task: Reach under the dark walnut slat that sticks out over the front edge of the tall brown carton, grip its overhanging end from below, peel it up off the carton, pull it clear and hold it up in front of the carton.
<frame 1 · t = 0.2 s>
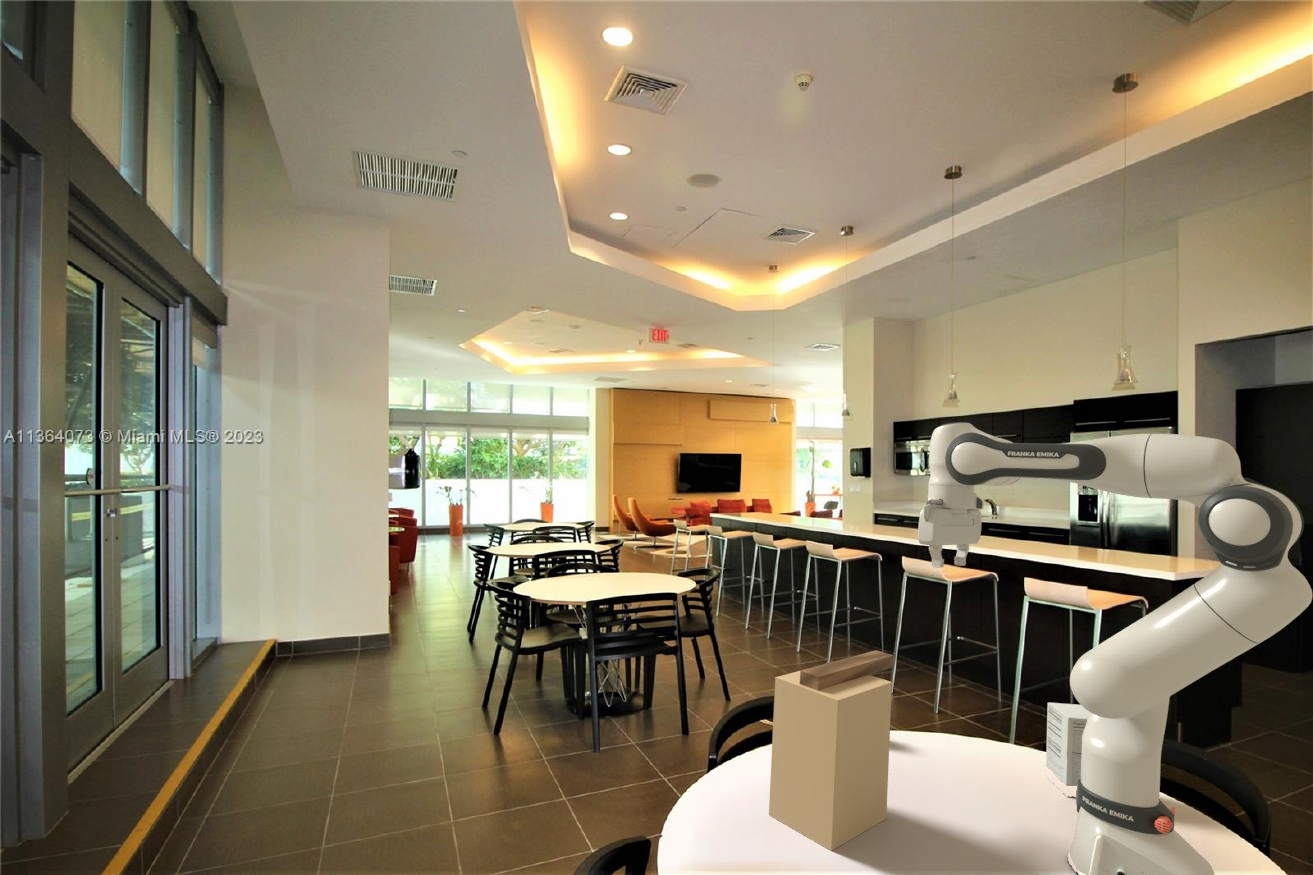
hand: (949, 566, 137), 48 cm above the table, tool pointing down, fingers open, 8 cm apart
slat: (848, 675, 130), point 26 cm above the table, touching carton
supplement box: (1077, 789, 143), on the table
carton: (827, 816, 126), on the table
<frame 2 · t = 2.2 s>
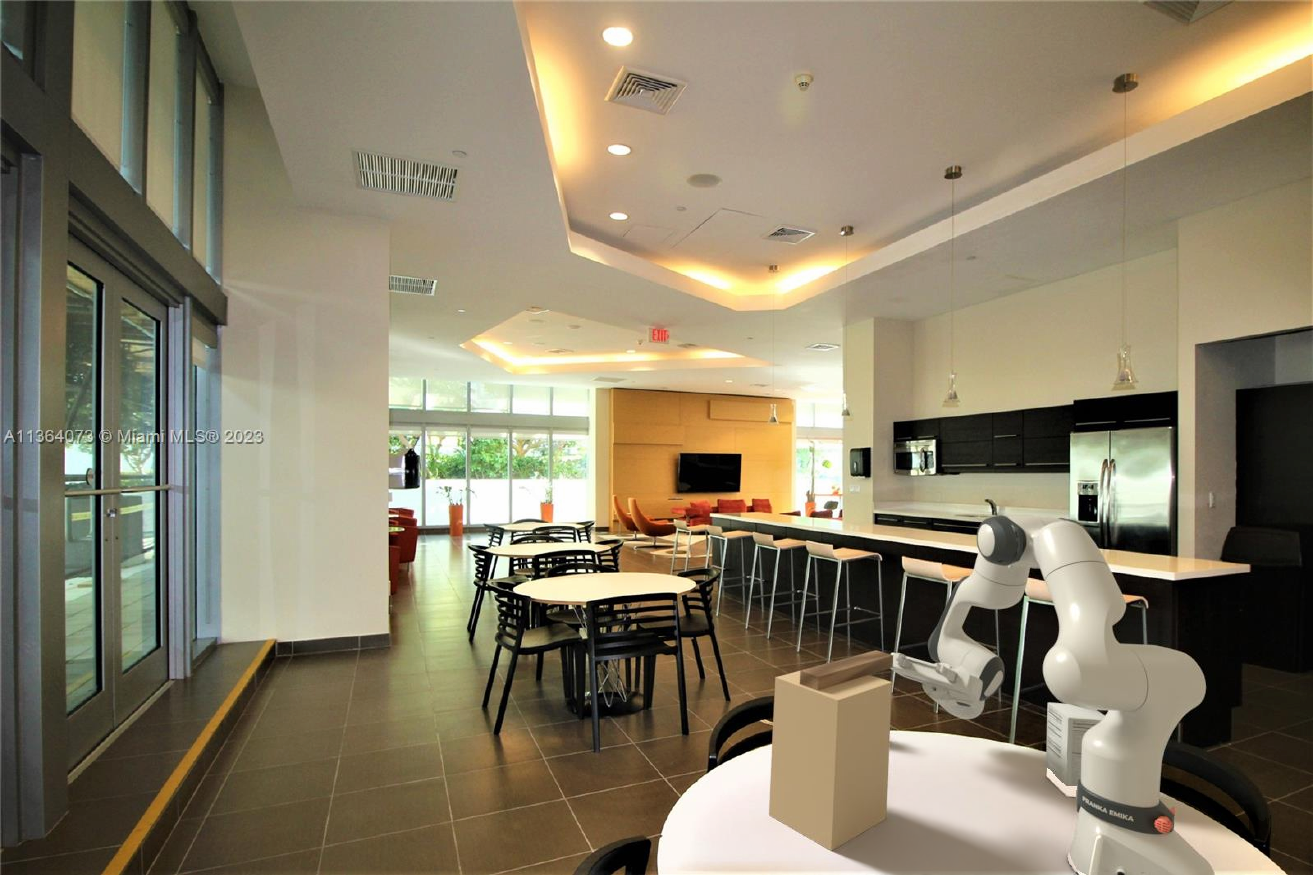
hand: (918, 662, 147), 24 cm above the table, tool pointing upward, fingers open, 8 cm apart
nothing on the table moved.
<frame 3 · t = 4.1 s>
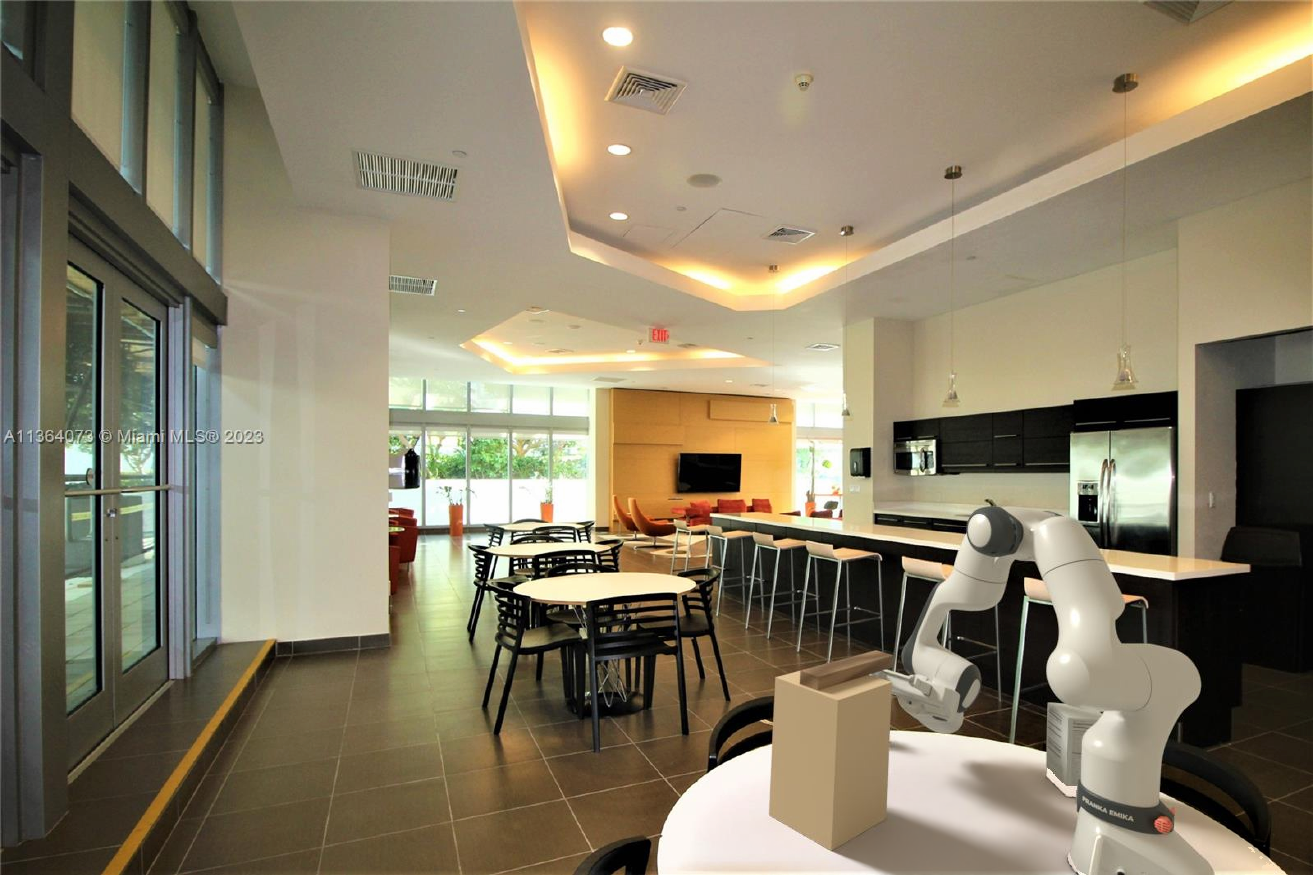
hand: (892, 674, 140), 23 cm above the table, tool pointing upward, fingers open, 8 cm apart
nothing on the table moved.
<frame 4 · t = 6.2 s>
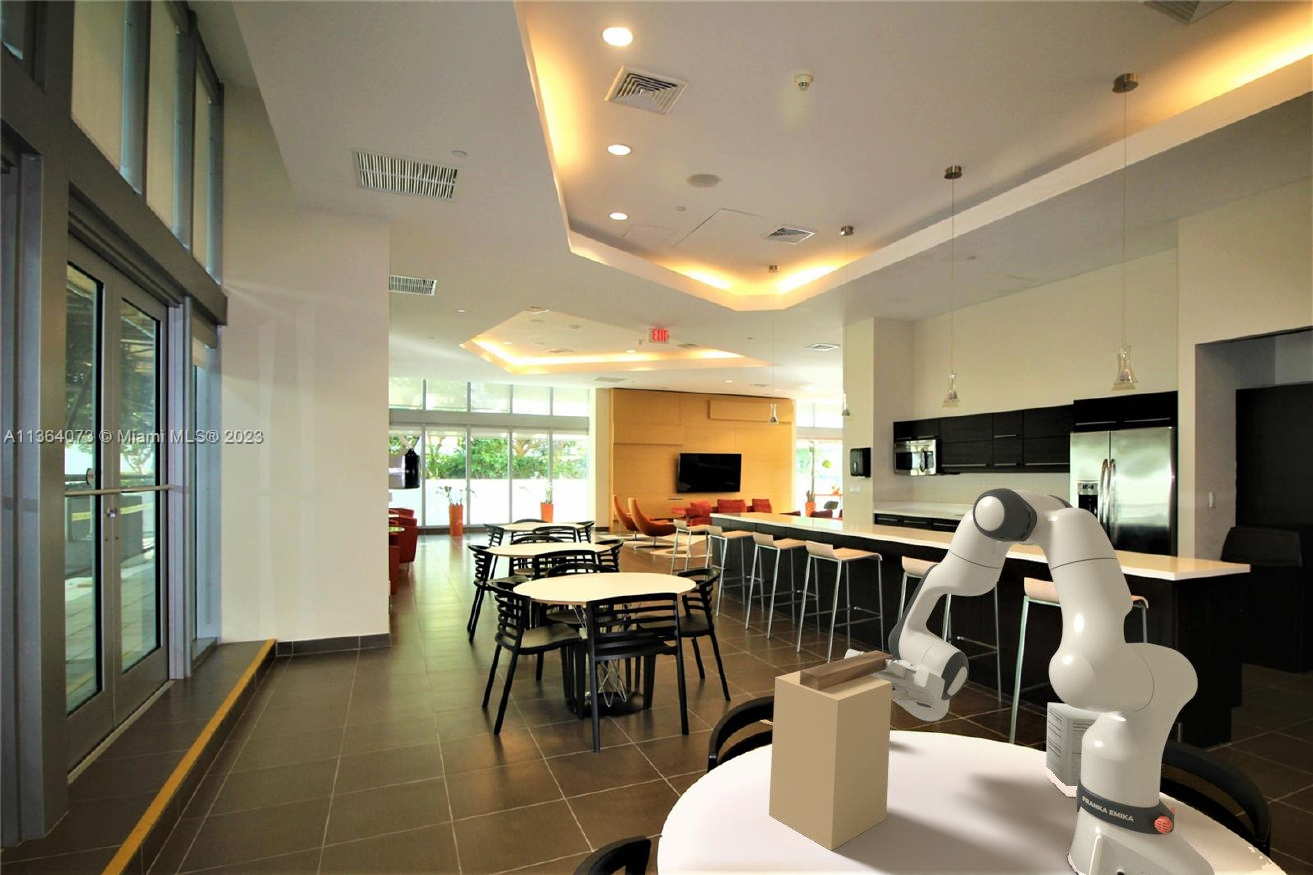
hand: (874, 659, 136), 28 cm above the table, tool pointing upward, fingers closed on slat, 4 cm apart
slat: (848, 675, 130), point 26 cm above the table, touching carton, gripper
everything else where it was.
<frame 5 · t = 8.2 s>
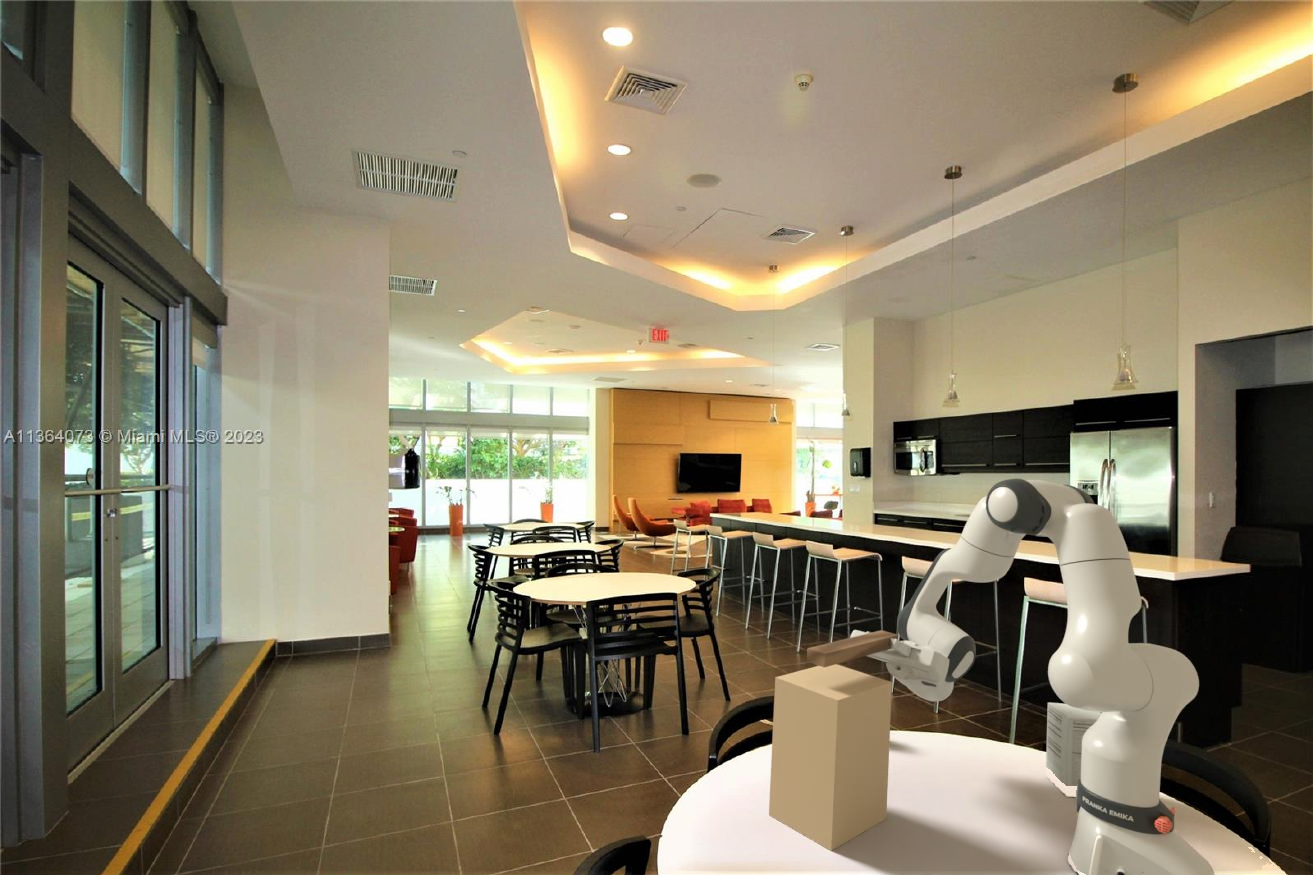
hand: (880, 638, 137), 32 cm above the table, tool pointing upward, fingers closed on slat, 4 cm apart
slat: (854, 653, 131), point 30 cm above the table, touching gripper
everything else where it was.
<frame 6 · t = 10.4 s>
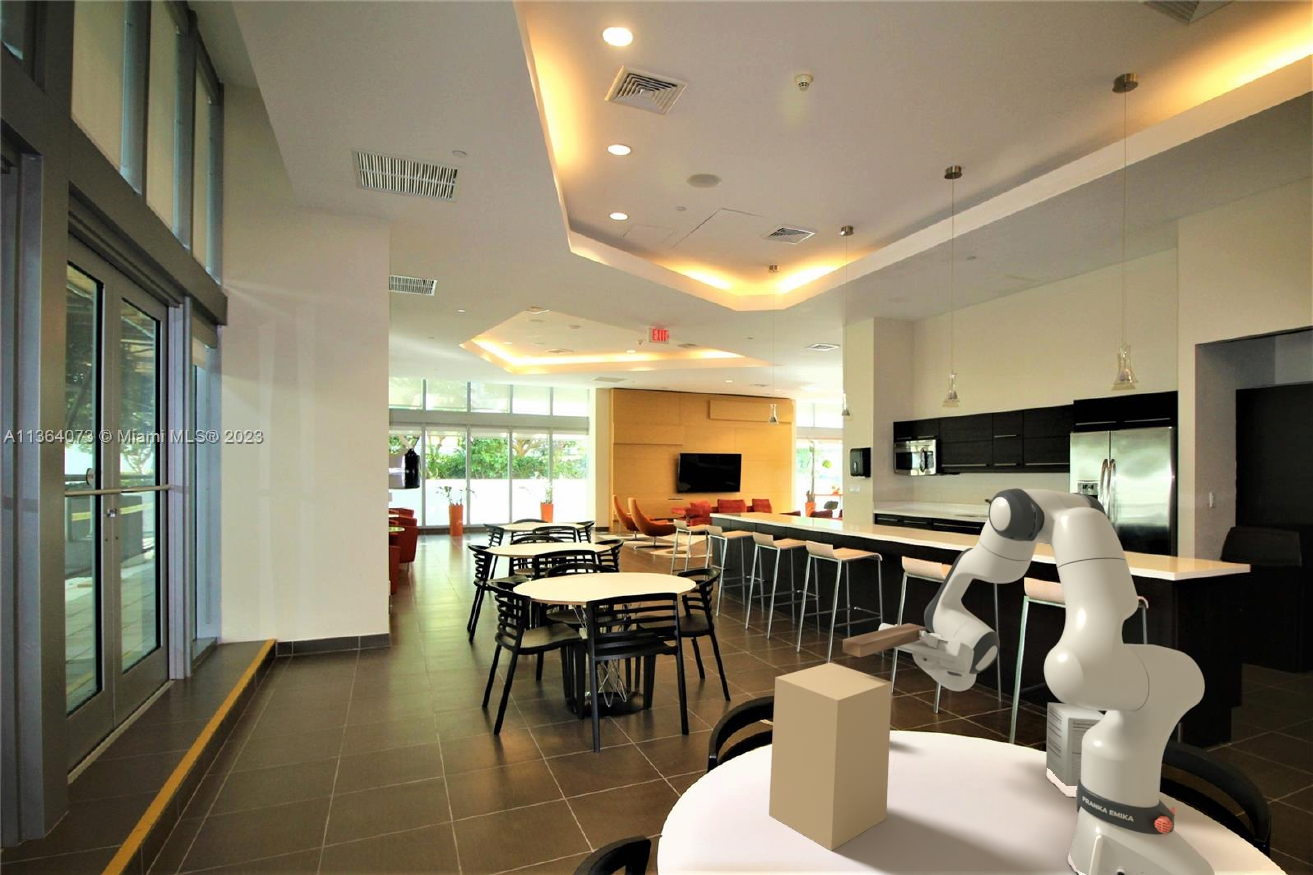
hand: (908, 630, 145), 32 cm above the table, tool pointing upward, fingers closed on slat, 4 cm apart
slat: (886, 645, 139), point 30 cm above the table, touching gripper
everything else where it was.
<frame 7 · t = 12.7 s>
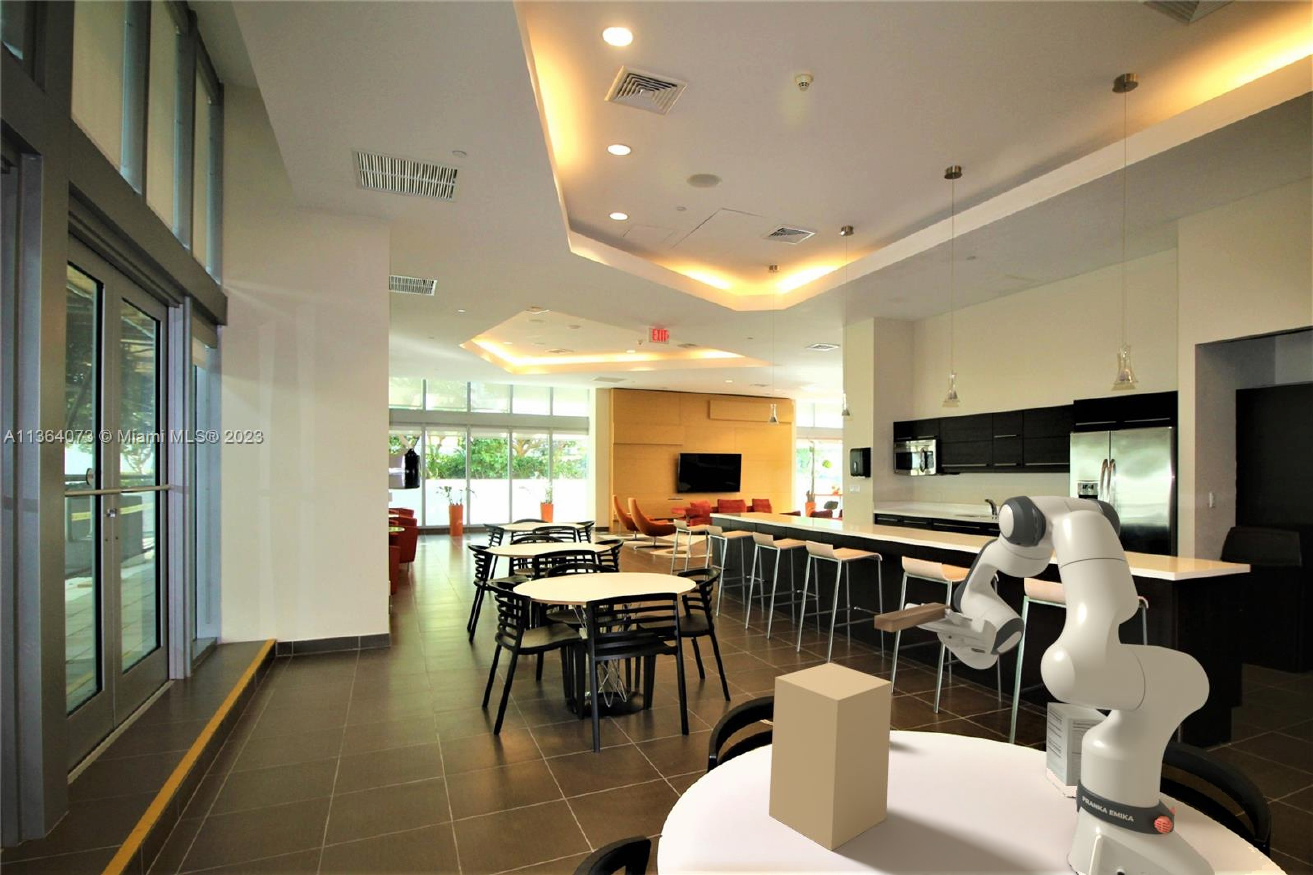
hand: (934, 609, 152), 35 cm above the table, tool pointing upward, fingers closed on slat, 4 cm apart
slat: (914, 622, 146), point 34 cm above the table, touching gripper
everything else where it was.
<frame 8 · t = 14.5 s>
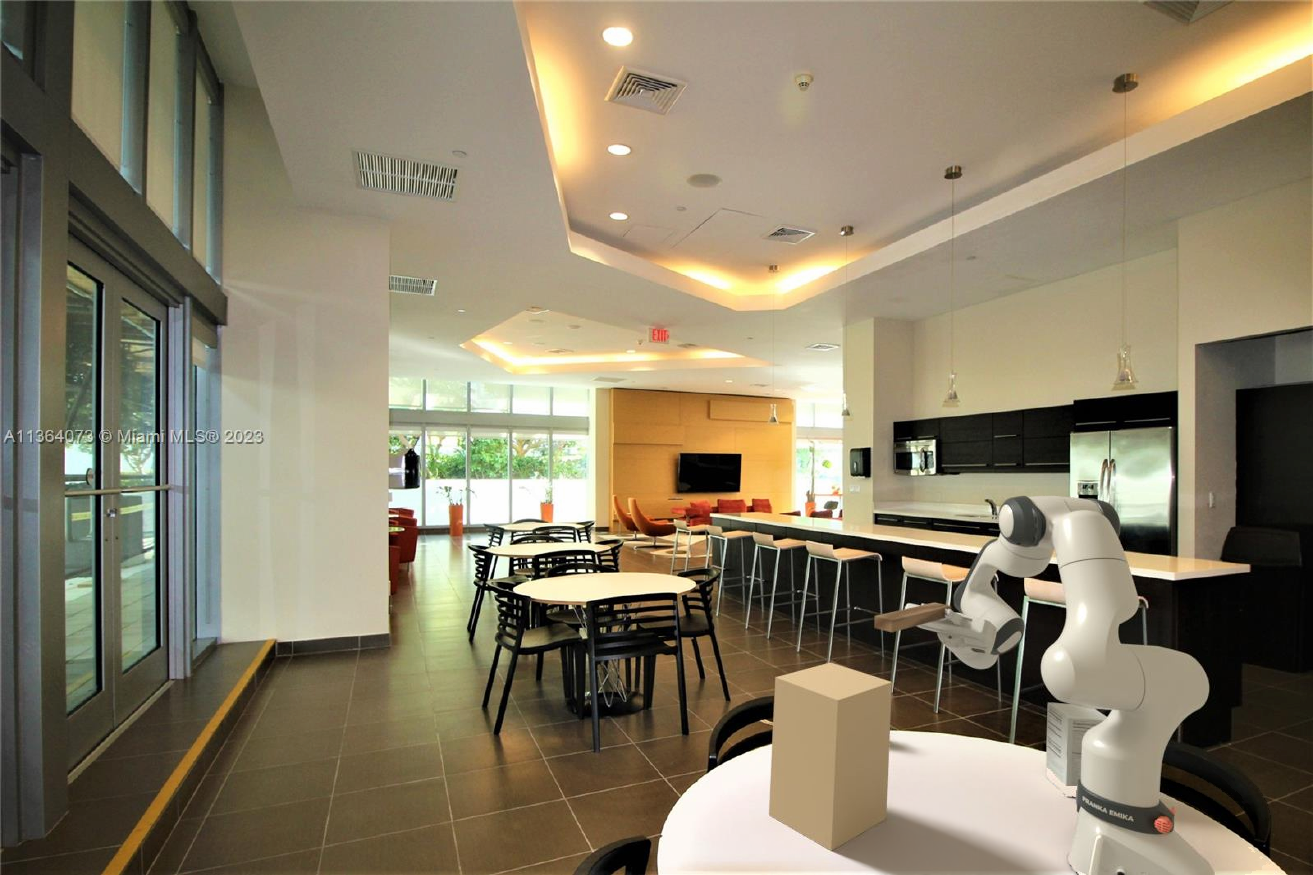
hand: (934, 609, 152), 35 cm above the table, tool pointing upward, fingers closed on slat, 4 cm apart
slat: (914, 622, 146), point 34 cm above the table, touching gripper
everything else where it was.
at the end: slat touching gripper; the gripper is holding slat; slat inside the target area (8.5 cm from its centre), point 33.5 cm above the table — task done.
